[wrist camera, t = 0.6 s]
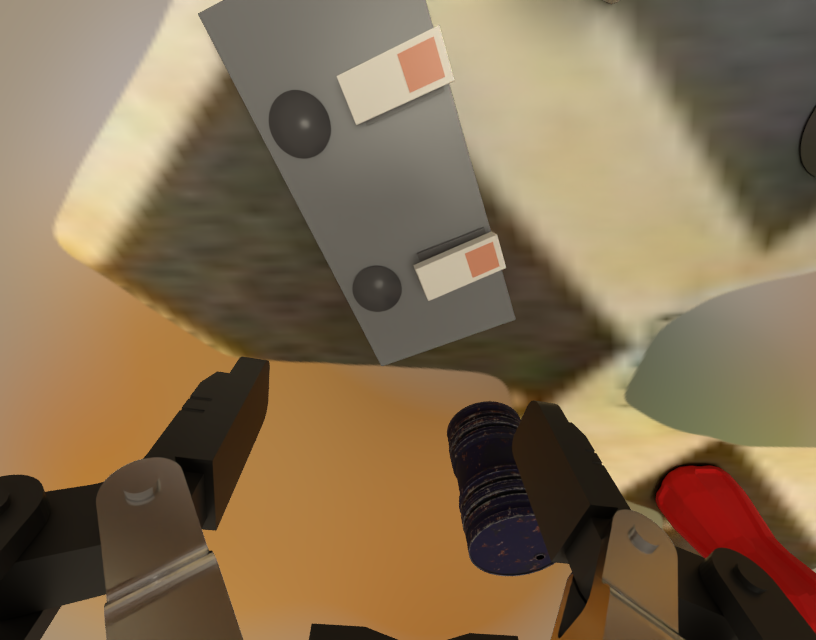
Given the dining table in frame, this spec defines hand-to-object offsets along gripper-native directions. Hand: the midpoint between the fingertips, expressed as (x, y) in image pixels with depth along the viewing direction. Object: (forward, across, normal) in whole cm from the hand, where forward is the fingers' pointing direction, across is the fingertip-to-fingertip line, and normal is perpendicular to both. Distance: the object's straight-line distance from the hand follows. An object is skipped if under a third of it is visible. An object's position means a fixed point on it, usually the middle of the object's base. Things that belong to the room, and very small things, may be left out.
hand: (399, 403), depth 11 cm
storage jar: (+26, -16, +25) cm, 40 cm away
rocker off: (+20, +2, -10) cm, 22 cm away
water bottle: (+27, -48, +30) cm, 63 cm away
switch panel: (+26, +1, -2) cm, 26 cm away
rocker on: (+20, -6, +2) cm, 21 cm away
